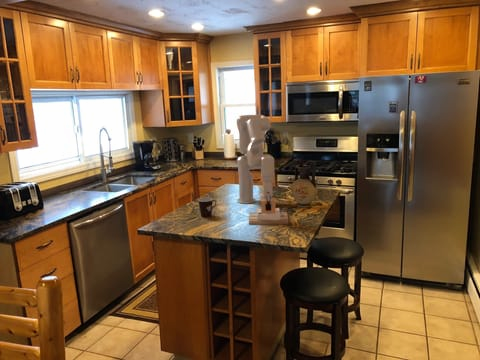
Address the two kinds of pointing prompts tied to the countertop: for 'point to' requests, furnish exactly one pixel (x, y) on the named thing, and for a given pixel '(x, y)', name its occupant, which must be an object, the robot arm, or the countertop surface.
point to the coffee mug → (206, 206)
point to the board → (254, 220)
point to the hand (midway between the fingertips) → (268, 208)
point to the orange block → (263, 206)
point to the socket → (268, 215)
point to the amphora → (304, 183)
